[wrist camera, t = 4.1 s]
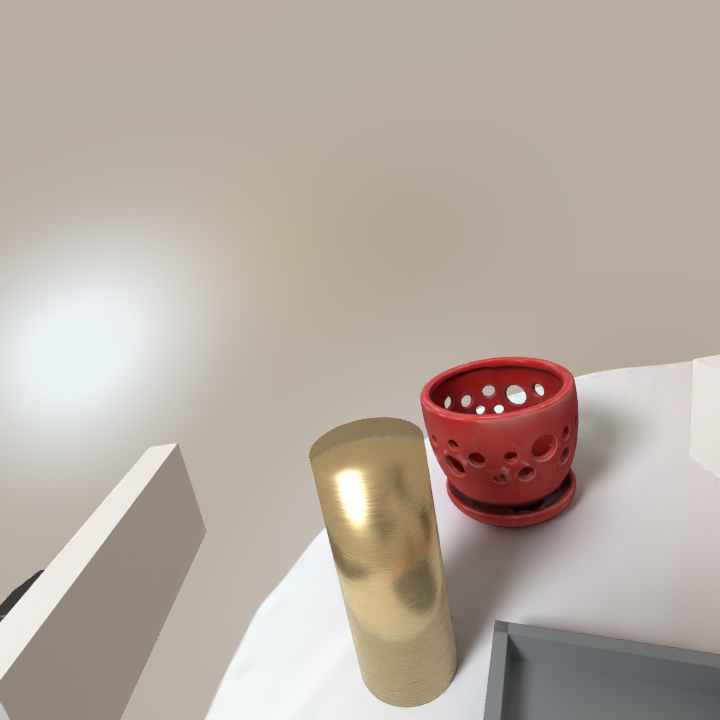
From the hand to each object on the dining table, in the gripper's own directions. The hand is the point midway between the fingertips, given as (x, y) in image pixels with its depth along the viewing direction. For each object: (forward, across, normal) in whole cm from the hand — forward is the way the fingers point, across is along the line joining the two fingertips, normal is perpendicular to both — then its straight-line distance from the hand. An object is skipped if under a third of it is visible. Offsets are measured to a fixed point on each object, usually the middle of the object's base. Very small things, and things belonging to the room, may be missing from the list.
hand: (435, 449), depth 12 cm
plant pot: (+28, +8, -22) cm, 37 cm away
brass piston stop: (+13, -2, -22) cm, 26 cm away
